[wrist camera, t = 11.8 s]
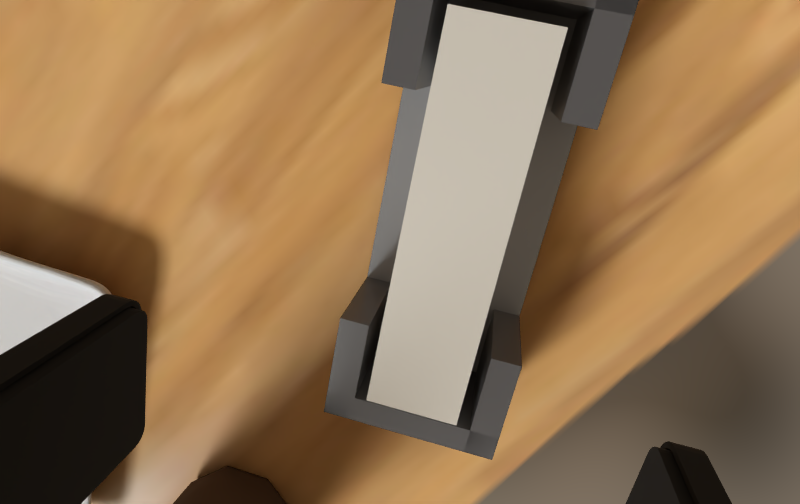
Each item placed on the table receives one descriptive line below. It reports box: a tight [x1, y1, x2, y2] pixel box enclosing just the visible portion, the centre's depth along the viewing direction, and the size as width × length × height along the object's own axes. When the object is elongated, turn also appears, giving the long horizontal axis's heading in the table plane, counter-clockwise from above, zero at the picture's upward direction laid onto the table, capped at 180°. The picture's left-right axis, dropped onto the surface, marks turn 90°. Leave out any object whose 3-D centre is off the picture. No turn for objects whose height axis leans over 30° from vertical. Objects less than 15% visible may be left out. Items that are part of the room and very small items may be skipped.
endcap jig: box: [324, 0, 639, 460], centre depth 24 cm, size 20×8×6 cm, turn 169°
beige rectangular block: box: [367, 4, 568, 425], centre depth 24 cm, size 16×4×6 cm, turn 169°
